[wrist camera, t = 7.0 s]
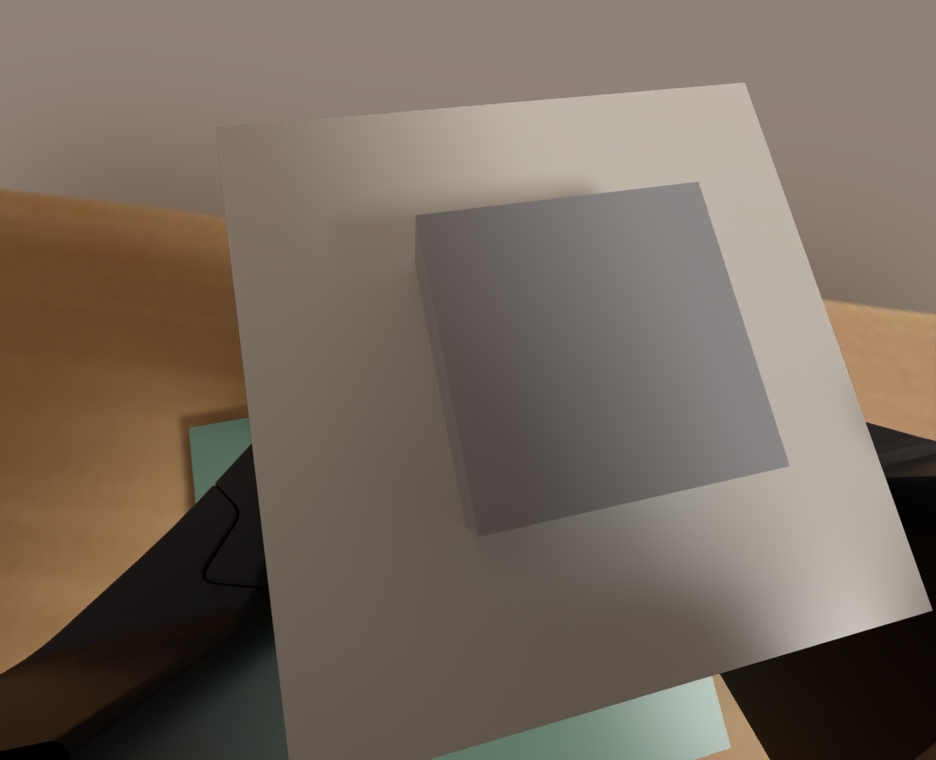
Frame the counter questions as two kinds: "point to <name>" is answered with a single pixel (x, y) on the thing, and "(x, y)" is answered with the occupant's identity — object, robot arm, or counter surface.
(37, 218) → the counter surface
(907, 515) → the robot arm
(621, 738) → the board
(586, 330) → the white tall block
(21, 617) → the counter surface
